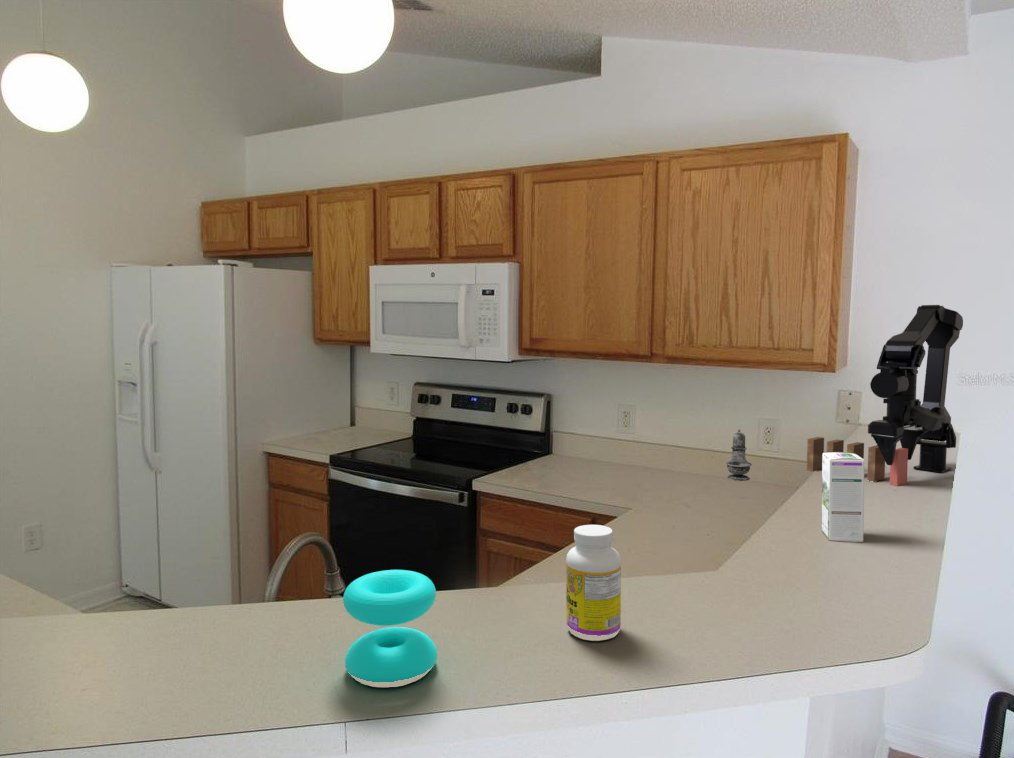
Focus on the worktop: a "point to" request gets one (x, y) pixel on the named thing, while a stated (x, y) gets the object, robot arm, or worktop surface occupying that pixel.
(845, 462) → the syrup box
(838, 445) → the domino
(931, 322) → the robot arm
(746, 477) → the salt shaker
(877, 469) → the domino
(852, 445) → the domino
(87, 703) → the worktop surface
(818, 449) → the domino
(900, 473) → the domino
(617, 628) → the supplement bottle
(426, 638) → the teal rings
